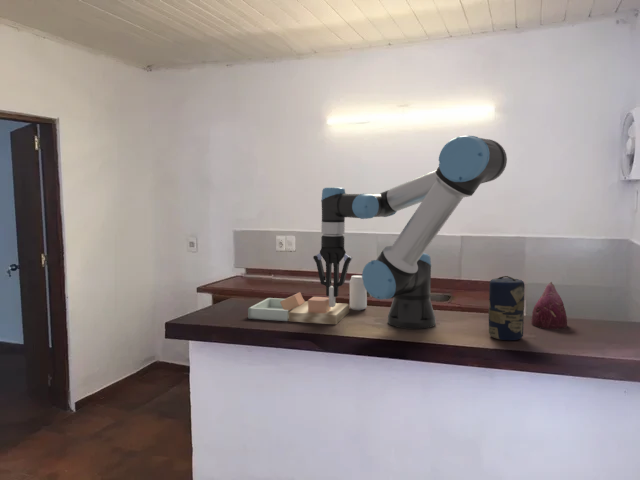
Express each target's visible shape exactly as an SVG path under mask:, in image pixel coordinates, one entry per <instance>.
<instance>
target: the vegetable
mask: <svg viewBox="0 0 640 480" xmlns="http://www.w3.org/2000/svg"><path fill="white" fill-rule="evenodd" d="M567 318H568V317H567V312H566V308H565V305H564V302H563V299H562V298H561V295H560V294H559V293H558V291H557V289H556V287H555V285H554V284H553V282H552V281H550V282H549V283H548V284H546V286H545V288H544V290H543V292H542V294H541V296H540V298H539V299H538V300H537V301H536V303H535V305H534V306H533V310H532V313H531V318H530V319H531V325H532V324H533V325H532V326H534V327H536V326H537V328H540V327H541V329H545V328H546V330H562V329H566V328H567V327H568V319H567Z"/></svg>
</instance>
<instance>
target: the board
mask: <svg viewBox="0 0 640 480" xmlns="http://www.w3.org/2000/svg"><path fill="white" fill-rule="evenodd" d="M349 313H350V303H341V302H338V303H337V302H335V306H334V307H331V309H330V310H329V311H328V312H327V313H316V312H308V300H307V301H305V302H304V303H303V304H301V305H300V306H298V307H296V308H295V309H293V310H292V311H290V312H289V321H288V322H295V323H309V324H323V325H337V324H338V323H339V322H341V321H342V319H344V317H346V316H347V315H348V314H349Z"/></svg>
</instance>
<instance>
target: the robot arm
mask: <svg viewBox="0 0 640 480" xmlns="http://www.w3.org/2000/svg"><path fill="white" fill-rule="evenodd" d="M507 162H508V157H507V152H506V150H505V148H504V147H503V145H501V144H500V143H499V142H497V141H495V140H493V139H487V138H482V137H478V136H476V135H462V136H457V137H454V138H452V139H450V140H449V141H448V142H446V143H445V144H444V145H443V147H442V149H441V150H440V152H439V155H438V167H437V169H435V170H433V171H430V172H428V173H426V174H425V173H424V174H423V175H421V176H419V177H418V176H417V177H416V178H414V179H412V180H408V181H406V182H404V183H402V184H399V185H397V186H395V187H392V188H390V189H387V190H385V191H382V192H380V193H346V189H345V187H324V188H322V190H321V201H320V202H321V228H320V229H321V234H322V235H321V236H320V237H321V241H320V242H321V243H320V245H321V248H320V250H319V253H317V254H316V255H313V257H312V258H313V260H314V262H315V263H316V269H317V272H318V277H319V282H320V284H321V285H323V286H325V291H326V292H325V293H326V295H325V297H329V307H334V306H335V303H336V298H337V297H338V296H339V287H341V286H343V285H344V284H345V282H346V278H347V273H348V270H349V266H350V263H351V262H352V260H353V257H352V256H349V255H348V254H347V253H346V252H347V251H346V250H345V236H344V234H345V227H346V226H345V225H346V224H345V219H346V218H349V219H350V218H351V219H352V218H353V219H360V220H364V219H365V220H366V219H368V220H369V219H373V218H381V217H382V218H387V217H391V216H394V215H395V214H396V213H397V212H398V211H401V210H403V209H407V208H409V207H413V206H415V205H417V204H419V206H418V207H417V209H416V210H414V213H413V214H412V216H411V217H410V219H409V220H408V221H407V223H406V224H405V226H404V228H403V229H402V230H401V232H400V234H399V235H398V236H397V238H396V239H395V241H394V242H393V244H392V245H388V246H385V247H384V248H383V250H382V251H381V253H380V254H379V256H378V257H377V258H376V259H373V260H371V261H369V262H368V263H366V264H365V265H364V267H363V270H362V274H361V275H362V279H363V284H364V287H365V289H366V290H367V293H368V294H369V296H371V297H372V298H375V299H377V300H388V299H389V300H390V299H393V300H392V302H391V305H390V308H389V311H388V315H387V324H389V325H391V326H392V327H396V328H402V329H410V330H411V329H413V330H414V329H415V330H416V329H418V330H419V329H428V328H431V327H435V326H436V325H437V323H436V321H437V320H436V319H437V318H436V314H435V312H434V309H433V304H432V301H431V285H432V283H431V281H432V278H431V275H432V262H431V256H430V255H429V254H428V253H425V252H426V251H427V249H428V247H429V246H430V244H431V243H432V242H433V240H434V239H435V238H436V237H437V235H438V233H439V232H440V231H441V229H442V228H443V227H444V226H445V224H446V223H447V220H449V218H450V217H451V216H452V214H453V212H454V211H455V210H456V208H457V207H458V205H459V204H460V203H461V201H463V199H464V198H467V197H468V198H469V197H472V196H473V195H474V194H475V192H476V191H477V189H478V188H479V187H480V185H482V184H485V183H488V182H492V181H494V180H497V179H498V178H499V177H500V176H501V175H502V174H503V173H504V171H505V169H506V167H507ZM322 259H323V260H324V262H325V270H324V265H323V261H322ZM342 260H343V261H344V263H343V266H342V270H341V274H340V262H342ZM332 266H333V268H332ZM332 269H333V271H332ZM332 272H333V283H332Z"/></svg>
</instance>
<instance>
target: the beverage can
mask: <svg viewBox="0 0 640 480" xmlns="http://www.w3.org/2000/svg"><path fill="white" fill-rule="evenodd" d="M367 293H368V292H367V290H366V289H365V287H364V284H363V279H362V274H356V275H355V274H354V275H351V277H350V280H349V309H351V310H353V311H363V310H365V309H367V307H368V305H367V304H368V299H367V298H368V297H367V296H368V294H367Z"/></svg>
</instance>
